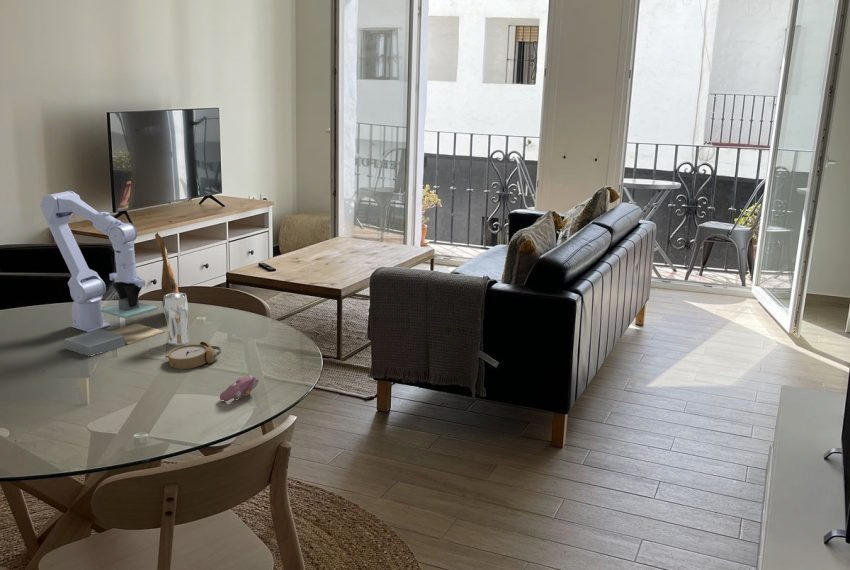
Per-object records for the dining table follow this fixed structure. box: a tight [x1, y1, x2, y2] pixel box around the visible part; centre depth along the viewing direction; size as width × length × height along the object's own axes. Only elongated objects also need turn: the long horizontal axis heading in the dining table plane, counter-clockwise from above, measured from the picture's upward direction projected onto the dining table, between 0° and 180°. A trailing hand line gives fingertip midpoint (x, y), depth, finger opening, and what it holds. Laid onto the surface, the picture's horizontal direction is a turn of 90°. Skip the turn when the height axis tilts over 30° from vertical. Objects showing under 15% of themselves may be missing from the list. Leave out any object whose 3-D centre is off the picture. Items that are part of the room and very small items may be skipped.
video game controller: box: [219, 374, 260, 402], centre depth 212 cm, size 10×5×7 cm, turn 149°
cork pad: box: [109, 322, 166, 345], centre depth 260 cm, size 14×14×1 cm
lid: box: [100, 298, 159, 319], centre depth 257 cm, size 12×12×4 cm
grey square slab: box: [64, 328, 126, 357], centre depth 247 cm, size 12×12×3 cm
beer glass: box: [163, 292, 190, 347], centre depth 251 cm, size 7×7×15 cm
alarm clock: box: [165, 341, 222, 370], centre depth 237 cm, size 11×5×15 cm
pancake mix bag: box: [154, 231, 180, 310], centre depth 273 cm, size 7×19×28 cm, turn 17°
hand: (129, 305), depth 257 cm, fingers closed on lid, 3 cm apart
